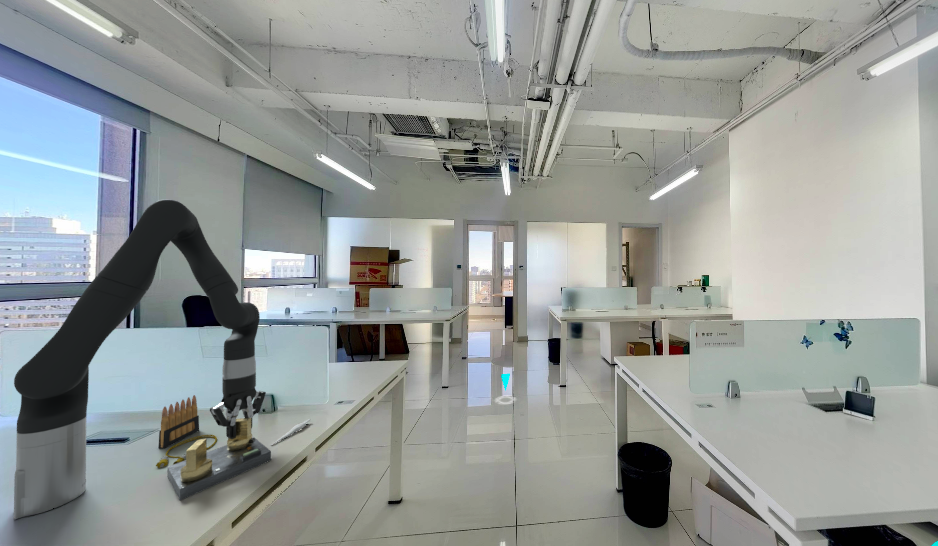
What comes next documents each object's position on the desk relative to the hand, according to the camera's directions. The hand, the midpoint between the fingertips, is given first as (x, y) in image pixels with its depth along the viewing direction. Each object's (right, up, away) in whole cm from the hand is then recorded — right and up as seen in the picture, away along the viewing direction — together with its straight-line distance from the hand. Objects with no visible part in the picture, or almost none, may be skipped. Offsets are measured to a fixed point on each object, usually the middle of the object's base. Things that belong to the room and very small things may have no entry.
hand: (239, 434), depth 84 cm
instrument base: (0, -5, -6) cm, 8 cm away
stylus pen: (+8, -6, +11) cm, 15 cm away
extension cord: (-17, -7, +2) cm, 19 cm away
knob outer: (0, -3, 0) cm, 3 cm away
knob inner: (-1, -3, -13) cm, 13 cm away
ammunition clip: (-26, -7, +9) cm, 28 cm away
